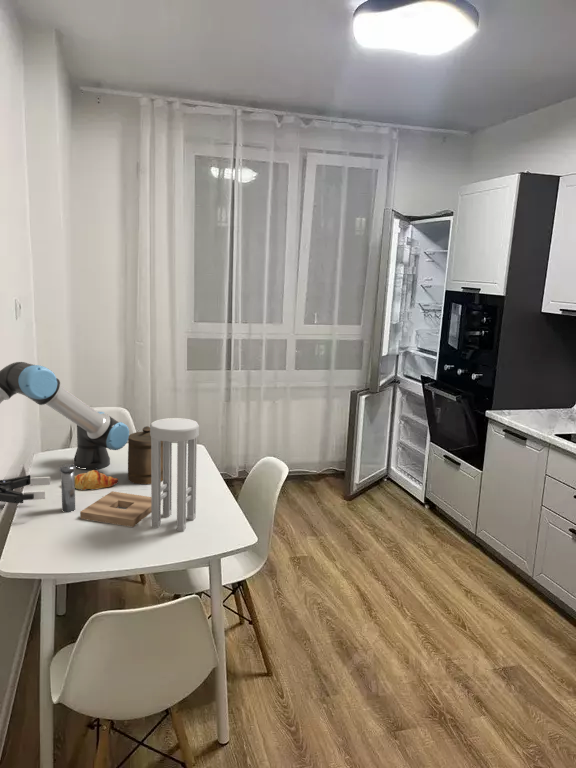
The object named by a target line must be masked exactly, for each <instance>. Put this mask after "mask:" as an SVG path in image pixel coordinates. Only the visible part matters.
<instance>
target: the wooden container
mask: <svg viewBox="0 0 576 768" xmlns="http://www.w3.org/2000/svg"><path fill="white" fill-rule="evenodd" d="M127 443H128V445H127V447H128V450H127V480H128V481H129V482H130V483H133V484H136V485H137V484H138V485H151V435H150V426H148V425H147V426H144V427H143V428H142V431H137V432H134V433H133V432H132V433H129V437H128V441H127ZM161 482H163V441H161Z"/></svg>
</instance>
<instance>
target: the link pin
mask: <svg viewBox="0 0 576 768" xmlns="http://www.w3.org/2000/svg"><path fill="white" fill-rule="evenodd" d="M76 469H77V468H76V466H75V465H73V464H71V463H68V464H66V463H65V464H62V465H60V466H59V472H60V482H61V483H60V484H61V488H60V489H61V508H62V509H61V510H63V511H64V512H63V511H62V512H63V513H72V512H71V511H73V512H75V511H76V489H75V476H76V475H75V474H76V473H75V471H76ZM74 510H75V511H74Z"/></svg>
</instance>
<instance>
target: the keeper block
mask: <svg viewBox="0 0 576 768" xmlns="http://www.w3.org/2000/svg"><path fill="white" fill-rule="evenodd" d="M79 513H80V514H79V515H80V518H81V519H80V520H86V519H88V520H87V521H92V520H94V522H100V523H106V524H113V525H118V526H123V527H131V528H134V527H135V526H136V525H138V524H139V523H140V522H141V521H143V520H144V519H146V517H148V516H149V515H150V514H151V496H147V495H140V494H132V493H127V492H121V491H110V492H108V493H107V494H105V495H104V496H102V497H100V499H97V500H96V501H94V502H93V503H92V504H90V505H88V506H86V507H85V508H84V509H82V510H80V511H79Z"/></svg>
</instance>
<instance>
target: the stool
mask: <svg viewBox="0 0 576 768" xmlns="http://www.w3.org/2000/svg"><path fill="white" fill-rule="evenodd" d="M149 427H150V435H151V484H150V485H151V488H150V489H151V494H150V497H151V513H150V514H151V516H150V518H151V528H155V529H157V528H158V529H159V527H160V526H162V525H161V524H162V523H161V520H162V519H161V518H162V517H167V518H169V516H170V515H172V507H173V506H172V503H173V502H172V494H173V493H172V490H173V489H172V487H173V486H172V481H173V478H172V477H173V476H172V475H173V473H172V471H173V468H172V467H173V465H172V464H173V461H172V460H173V455H172V453H173V451H172V450H173V442H177V443H176V444H177V447H176V448H177V449H176V450H177V451H176V452H177V454H176V455H177V456H176V460H177V461H176V462H177V463H176V465H177V466H176V468H177V469H176V472H177V474H176V475H177V476H176V477H177V478H176V531H177V532H178V531H179V532H184V531H185V530H186V529H187V519H190V521H194V520H195V519H196V516H197V515H196V513H197V510H196V509H197V455H198V454H197V449H198V448H197V443H198V441H197V440H198V437H199V436H200V425H199V424H198V422H197V421H196V420H193V419H189V418H182V417H181V418H180V417H172V418H170V417H169V418H168V417H167V418H161V419H157V420H154V421H153V422H151V423H150V424H149ZM161 441H163V480H162V481H161ZM161 482H162V483H161ZM161 484H162V485H161ZM161 505H162V507H161ZM161 508H162V511H161ZM161 515H162V516H161ZM170 517H171V516H170Z"/></svg>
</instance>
